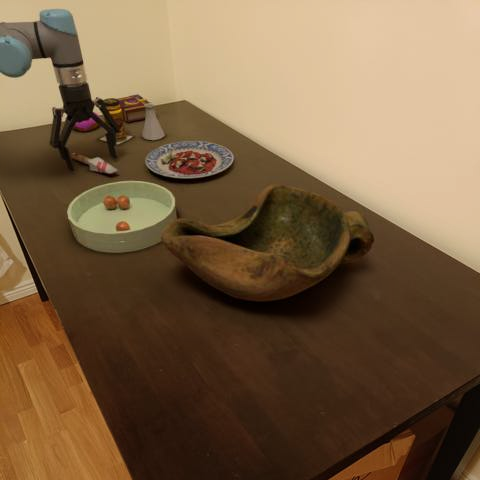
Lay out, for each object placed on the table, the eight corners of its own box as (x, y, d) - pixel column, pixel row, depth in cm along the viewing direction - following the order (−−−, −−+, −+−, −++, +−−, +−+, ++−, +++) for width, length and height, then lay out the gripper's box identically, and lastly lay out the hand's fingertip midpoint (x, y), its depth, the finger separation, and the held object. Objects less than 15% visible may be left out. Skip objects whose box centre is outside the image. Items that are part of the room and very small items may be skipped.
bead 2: (114, 206, 107) (119, 195, 107) (127, 212, 108) (131, 200, 108) (115, 204, 104) (119, 192, 104) (127, 209, 105) (132, 197, 105)
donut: (65, 128, 149) (61, 114, 146) (89, 120, 155) (85, 106, 152) (83, 135, 144) (80, 121, 141) (107, 126, 150) (104, 112, 147)
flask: (154, 131, 147) (150, 99, 140) (169, 136, 144) (165, 104, 137) (138, 137, 143) (133, 105, 136) (152, 142, 140) (148, 110, 133)
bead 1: (112, 191, 105) (100, 195, 106) (112, 201, 104) (100, 205, 104) (119, 199, 108) (107, 203, 108) (119, 209, 106) (108, 213, 107)
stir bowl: (79, 262, 92) (73, 243, 88) (68, 209, 108) (62, 190, 105) (189, 239, 98) (187, 220, 95) (163, 192, 115) (160, 174, 111)
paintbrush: (107, 169, 118) (67, 153, 128) (109, 178, 120) (70, 162, 130) (118, 164, 120) (78, 149, 130) (120, 174, 122) (81, 158, 132)
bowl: (215, 361, 71) (220, 291, 61) (153, 264, 89) (148, 197, 79) (388, 300, 87) (415, 236, 77) (305, 228, 105) (318, 169, 94)
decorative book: (127, 124, 152) (124, 109, 148) (111, 111, 162) (108, 97, 158) (156, 118, 156) (154, 103, 153) (139, 106, 166) (137, 91, 163)
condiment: (118, 144, 138) (110, 105, 130) (98, 139, 141) (90, 100, 133) (133, 137, 143) (126, 98, 135) (113, 132, 146) (106, 94, 138)
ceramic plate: (248, 157, 131) (248, 147, 129) (205, 192, 115) (204, 182, 113) (178, 142, 140) (177, 133, 138) (128, 173, 123) (126, 163, 121)
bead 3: (120, 219, 98) (120, 233, 100) (112, 221, 96) (112, 235, 97) (132, 221, 98) (132, 235, 99) (125, 223, 95) (125, 238, 96)
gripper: (31, 96, 103) (57, 180, 117) (122, 77, 115) (136, 155, 129) (19, 89, 107) (46, 171, 121) (108, 71, 119) (123, 148, 133)
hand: (92, 163), depth 125 cm, fingers open, 13 cm apart
